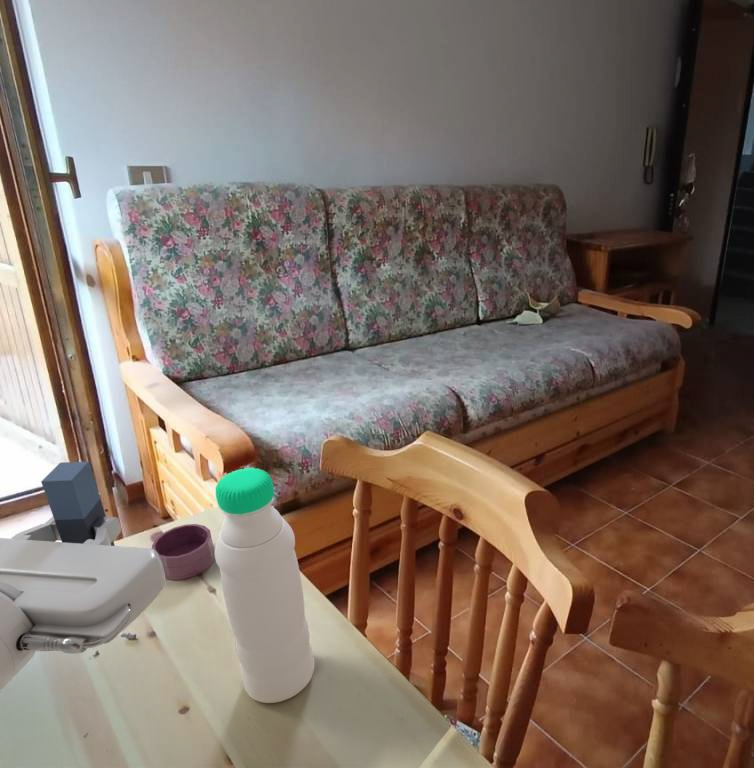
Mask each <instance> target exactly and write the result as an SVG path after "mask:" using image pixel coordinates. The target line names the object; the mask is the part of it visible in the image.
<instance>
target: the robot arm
mask: <svg viewBox="0 0 754 768" xmlns="http://www.w3.org/2000/svg"><path fill="white" fill-rule="evenodd" d="M97 520H98V521H96V522H94V523H93V524H92V525H91V526H90V529H91V532H92V534H93V538H94V540H93V539H88V540H86V541H85V542H84V543H83V544H79V543H65V542H62V541H61V538H60V535H59V532H58V529H57V526H56V524H55V520H54V517H53V516H52V517H50V518H49V519H48V520H46V522H44V523H41V524H38V525H36V526H34V527H30V528H28V529H26V530H23V531H20V532H18V533H15V534H14V536H12V537H11V538H7V537H5V538H4V537H0V693H1V692H2V691H3V690H4V689H5V688H6V687H7V685H8V684H9V683H10V682H11V681H12V680H13V679H14V678H15V677H16V676H17V675H18V674H19V672H21V670H22V669H23V668H24V667H25V666H26V665H27V664H28V663H29V662H30V661H31V660H32V658H33V657H34V656H35V654H36V652H62V653H65V654H83V653H85V652H86V651H87V649H91V648H96V647H98V646H101V645H106V644H109V643H111V642H112V641H113V640H115V639H116V638H117V637H118V635H119V634H121V633H122V632H123V631H124V630H125V629H127V628H128V627H129V626H130V625H131V624H132V623H133V622H134V621H135V620H136V619H137V618H138V617H139V616H140V615H141V614H142V613H143V612H144V611H145V610H146V609H147V608H148V607H150V605H151V604H152V603H153V602H154V601H155V600H156V599H157V598H158V596H159V595H160V594H161V593H162V592H163V591H164V589H165V587H166V580H167V579H166V578H165V573H164V568H163V565H162V562H161V560H160V557H159V555H158V553H157V551H156V550H154V549H152V548H149V547H136V546H135V547H134V546H122V545H121V546H120V545H115V546H111V542H112V541H113V542H114V541H115V540H116V538H118V536H119V535H121V532H122V525H121V522H120V519H119V517H116V516H115V517H114V516H106V517H99V518H98V519H97Z"/></svg>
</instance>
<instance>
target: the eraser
mask: <svg viewBox="0 0 754 768" xmlns="http://www.w3.org/2000/svg"><path fill="white" fill-rule="evenodd" d="M94 477H95V476H94V473H93V470H92V467H91V464H90V461H66V462H63V461H62V462H59V463H58V464H57V465H56V466H55V467H54V468H53V469H52V470H51V471H50V472H49V473H48V474H47V475H46V476H44V478H43V479H42V480H41V482H40V483H41V485H42V488H43V491H44V494H45V497H46V500H47V503H48V506H49V509H50V512H51V515H52V517H54V520H55V524H56V526H57V529H58V532H59V535H60V538H61V541H60V542H65V543H79V544H83V543H84V542H85V541H86V540H88V539H93V540H94V538H93V534H92V532H91V529H90V526H91V525H92V524H93V523H94V522H96V521H98V520H97V519H98V518H99V517H107V515H106V513H105V509H104V506H103V502H102V499H101V496H100V493H99V490H98V487H97V483H96V480H95V478H94ZM111 546H116V545H115V542H114V540H113V541H112V542H111Z"/></svg>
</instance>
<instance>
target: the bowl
mask: <svg viewBox="0 0 754 768" xmlns="http://www.w3.org/2000/svg"><path fill="white" fill-rule="evenodd" d="M151 549H154V550H156V551H157V553H158V555H159V557H160V560H161V562H162V565H163V568H164V573H165V579H166V580H170V581H180V580H185V579H190V578H193V577H195V576H198V575H200V574H202V573H203V572H205V571H206V570H207V569H209V568H210V566H212V565H213V563H214V562H215V560H216V559H215V545H214V541H213V537H212V532H211V530H210V528H208V527H207V526H205V525H202V524H198V523H189V524H187V523H186V524H183V525H178V526H175V527H173V528H170V529H168V530H165V531H164V532H163V533H161V534H160V535H159V536H158V537H155V540H154V541H153V542H152V545H151Z"/></svg>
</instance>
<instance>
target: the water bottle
mask: <svg viewBox="0 0 754 768" xmlns="http://www.w3.org/2000/svg"><path fill="white" fill-rule="evenodd" d="M274 496H275V488H274V482H273V479H272V477H271V475H270V474H269V473H268V472H267V471H266V470H264V469H261V468H256V467H255V468H254V467H247V468H240V469H236V470H235V471H231V472H229V473H227V474H225V475H224V476H223V477H221V479H220V480H219V481H218V482H217V484H216V486H215V499H216V502H217V505H218V507H219V509H220V512H221V513H222V514H223V515H225V517H224V519H223V521H222V522H221V523H222V524H221V526H220V532H219V533H218V535H217V539H216V542H215V545H214V550H215V559H214V560H215V562H216V564H217V566H218V568H219V570H220V571H219V572H220V573H219V574H220V580H221V582H220V583H221V587H222V593H223V597H224V602H225V607H226V611H227V616H228V619H229V622H230V626H231V629H232V632H233V635H234V637H235V638H234V643H235V653H236V656H237V659H238V662H239V663H240V673H241V678H242V683H243V687H244V689H245V690H244V691H245V692H246V694H248V696H249V697H250V698H251V699H253V700H254V701H256V702H260V703H263V704H274V703H280V702H283V701H287V700H289V699H291V698H292V697H294V696H296V695H298V694H299V693H300V692H301V691H303V690H304V688H306V687H307V685H308V684H309V682H310V681H311V679H312V677H313V674H314V672H315V671H314V670H315V660H314V653H313V649H312V645H311V643H310V630H309V624H308V620H307V618H306V614H305V612H306V611H305V610H306V609H305V598H304V591H303V583H302V577H301V570H300V565H299V561H298V558H297V554H296V553H297V552H296V551H295V546H296V538H295V537H296V536H295V533H294V530H293V529H292V527H291V525H290V524H289V522H288V521H286V519H284V517H283V516H282V515H281V514H280V512H279V511H278V510H277V509H276V508H275V507H274V506H273V502H274Z"/></svg>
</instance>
